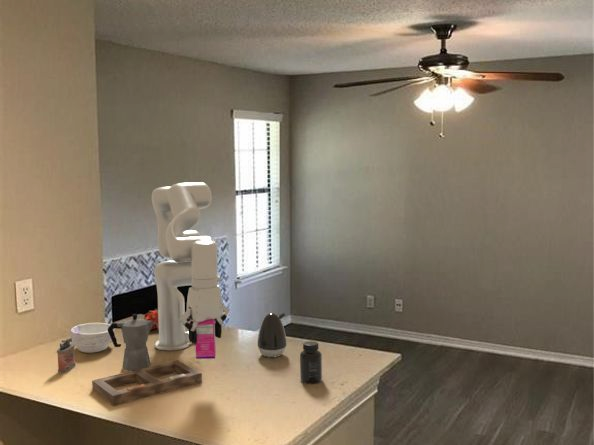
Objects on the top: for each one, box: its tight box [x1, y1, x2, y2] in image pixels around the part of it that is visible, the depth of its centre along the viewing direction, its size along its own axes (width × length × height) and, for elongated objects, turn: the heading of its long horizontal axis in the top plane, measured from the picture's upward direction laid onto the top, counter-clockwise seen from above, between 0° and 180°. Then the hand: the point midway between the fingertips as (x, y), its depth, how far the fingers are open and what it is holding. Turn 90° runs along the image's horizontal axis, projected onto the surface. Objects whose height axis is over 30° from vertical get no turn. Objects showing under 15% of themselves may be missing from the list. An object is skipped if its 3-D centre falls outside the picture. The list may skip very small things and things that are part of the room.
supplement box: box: [195, 319, 217, 360], centre depth 196 cm, size 6×6×12 cm
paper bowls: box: [70, 322, 115, 354], centre depth 237 cm, size 15×15×8 cm
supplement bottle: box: [299, 340, 323, 384], centre depth 205 cm, size 7×7×12 cm
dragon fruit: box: [143, 308, 159, 331], centre depth 262 cm, size 8×8×12 cm
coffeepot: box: [108, 313, 155, 372], centre depth 217 cm, size 15×9×18 cm, turn 110°
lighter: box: [56, 337, 76, 374], centre depth 216 cm, size 8×3×10 cm, turn 168°
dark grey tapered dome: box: [257, 312, 287, 358], centre depth 229 cm, size 10×10×15 cm
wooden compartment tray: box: [91, 359, 203, 407], centre depth 201 cm, size 29×16×3 cm, turn 129°
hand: (205, 339), depth 196 cm, fingers closed on supplement box, 7 cm apart
